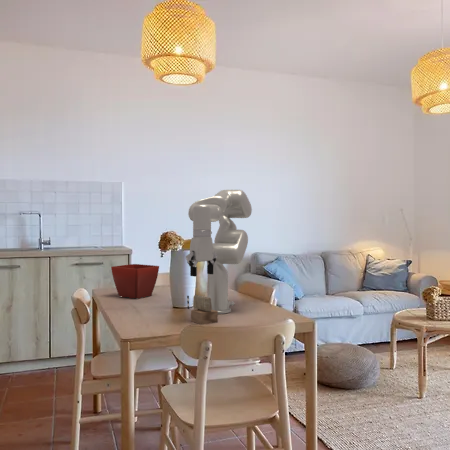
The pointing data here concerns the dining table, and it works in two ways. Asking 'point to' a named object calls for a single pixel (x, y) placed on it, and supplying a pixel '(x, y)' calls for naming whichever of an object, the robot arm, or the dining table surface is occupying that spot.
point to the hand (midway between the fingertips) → (202, 275)
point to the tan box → (204, 316)
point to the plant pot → (135, 279)
